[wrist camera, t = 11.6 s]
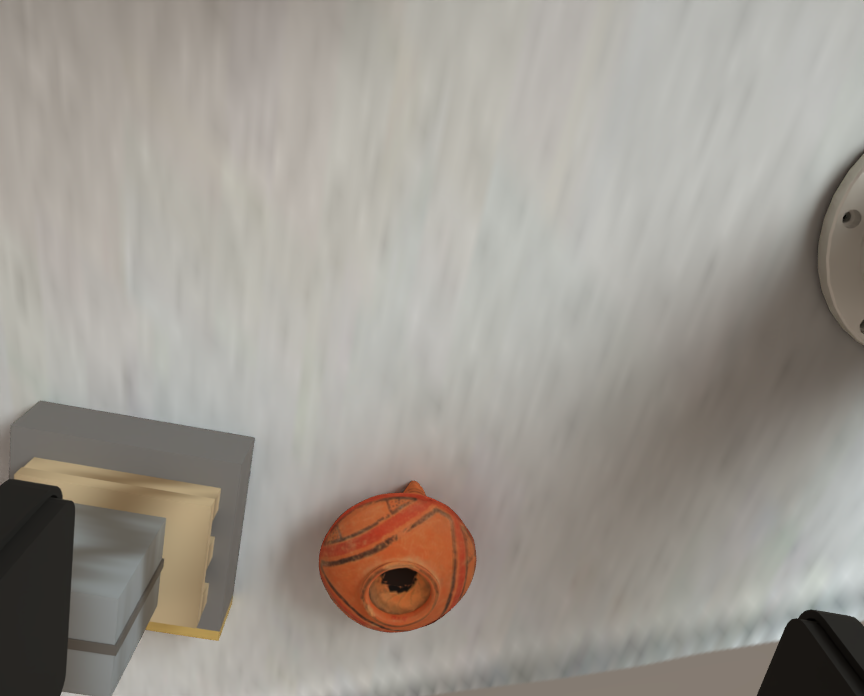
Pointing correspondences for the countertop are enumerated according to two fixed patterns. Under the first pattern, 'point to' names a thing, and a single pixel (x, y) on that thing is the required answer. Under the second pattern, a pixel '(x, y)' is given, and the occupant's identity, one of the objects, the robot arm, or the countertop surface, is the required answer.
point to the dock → (156, 457)
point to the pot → (397, 560)
